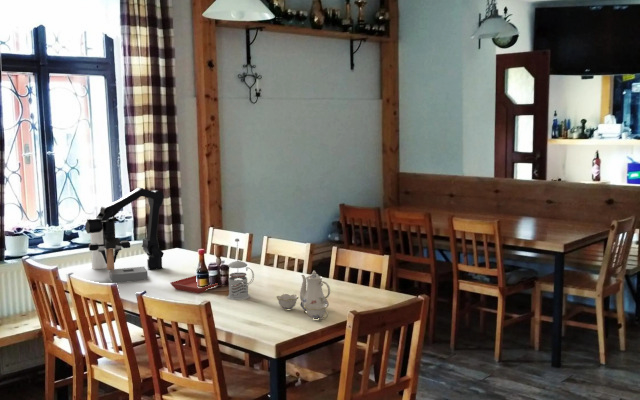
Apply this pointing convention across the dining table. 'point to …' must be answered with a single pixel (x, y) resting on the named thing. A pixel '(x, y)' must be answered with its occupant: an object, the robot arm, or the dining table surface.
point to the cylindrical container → (97, 256)
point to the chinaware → (309, 297)
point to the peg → (110, 258)
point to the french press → (238, 281)
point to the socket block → (128, 274)
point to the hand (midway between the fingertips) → (110, 263)
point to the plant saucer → (190, 285)
